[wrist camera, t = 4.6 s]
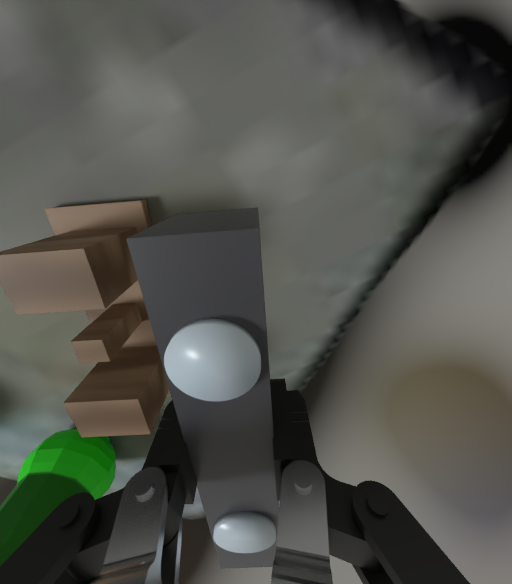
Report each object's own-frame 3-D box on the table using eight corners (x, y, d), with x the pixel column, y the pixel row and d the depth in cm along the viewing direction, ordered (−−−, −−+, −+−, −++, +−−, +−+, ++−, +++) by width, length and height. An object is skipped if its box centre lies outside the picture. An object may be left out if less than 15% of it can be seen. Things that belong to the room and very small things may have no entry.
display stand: (53, 207, 22) (-49, 223, 15) (145, 199, 22) (88, 212, 14) (122, 385, 30) (78, 453, 23) (189, 382, 30) (167, 449, 22)
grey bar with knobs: (176, 214, 9) (119, 242, 6) (257, 207, 9) (258, 230, 5) (228, 479, 16) (220, 577, 12) (276, 477, 16) (283, 575, 12)
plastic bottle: (55, 460, 36) (-297, 955, 13) (45, 406, 32) (-506, 1003, 9) (129, 469, 37) (-84, 954, 14) (128, 418, 32) (-182, 998, 10)
